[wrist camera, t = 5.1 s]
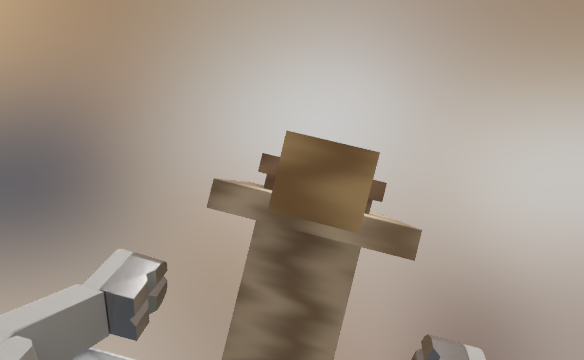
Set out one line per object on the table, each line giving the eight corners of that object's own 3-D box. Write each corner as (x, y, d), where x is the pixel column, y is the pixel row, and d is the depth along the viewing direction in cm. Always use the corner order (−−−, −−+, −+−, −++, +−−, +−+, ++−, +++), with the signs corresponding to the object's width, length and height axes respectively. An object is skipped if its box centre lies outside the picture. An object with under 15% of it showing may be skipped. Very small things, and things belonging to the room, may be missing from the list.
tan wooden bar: (267, 210, 15) (286, 130, 15) (295, 189, 32) (304, 152, 32) (359, 233, 14) (379, 152, 14) (338, 199, 31) (347, 162, 31)
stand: (119, 558, 23) (223, 139, 23) (187, 431, 35) (255, 156, 35) (325, 628, 22) (431, 189, 22) (322, 472, 34) (391, 189, 34)
